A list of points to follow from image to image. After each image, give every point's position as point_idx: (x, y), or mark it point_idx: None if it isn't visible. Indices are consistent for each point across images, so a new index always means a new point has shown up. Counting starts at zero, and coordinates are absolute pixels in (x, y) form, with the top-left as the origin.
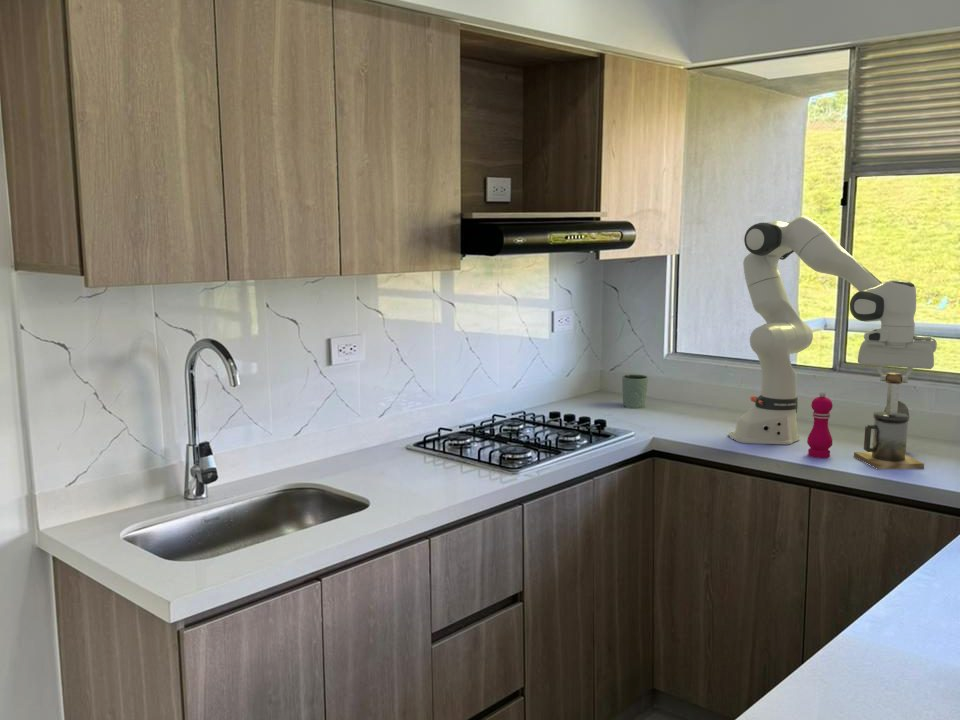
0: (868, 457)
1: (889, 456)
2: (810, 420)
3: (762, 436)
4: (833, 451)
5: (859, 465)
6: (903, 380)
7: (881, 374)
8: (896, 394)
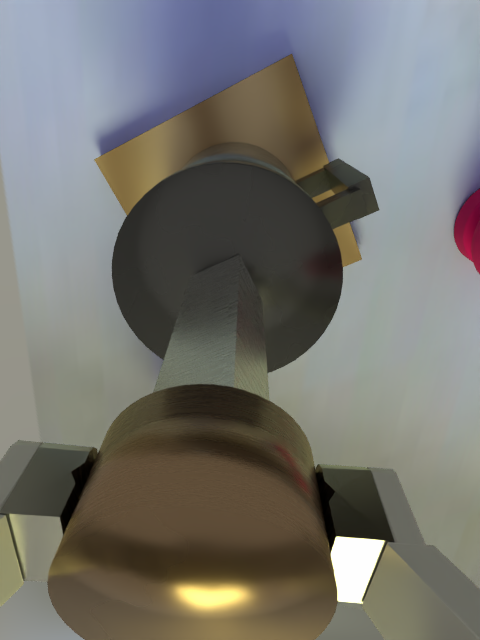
0: None
1: (235, 144)
2: None
3: None
4: (418, 310)
5: (357, 107)
6: (63, 464)
7: (418, 560)
8: (184, 351)
